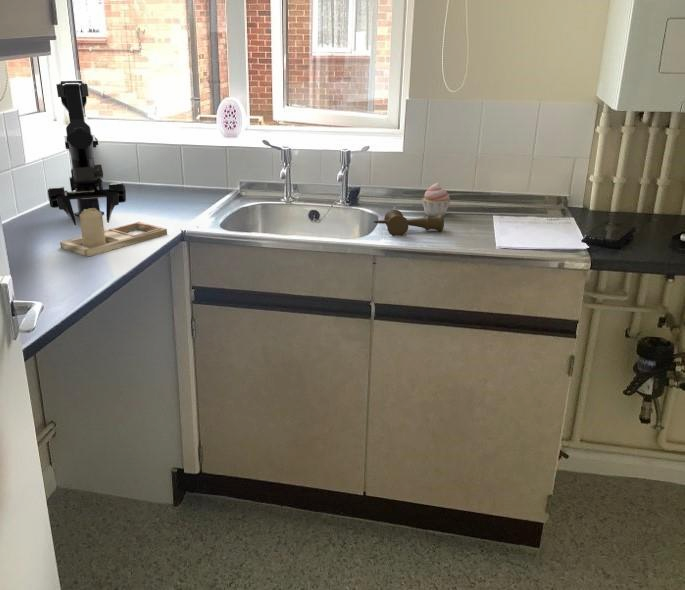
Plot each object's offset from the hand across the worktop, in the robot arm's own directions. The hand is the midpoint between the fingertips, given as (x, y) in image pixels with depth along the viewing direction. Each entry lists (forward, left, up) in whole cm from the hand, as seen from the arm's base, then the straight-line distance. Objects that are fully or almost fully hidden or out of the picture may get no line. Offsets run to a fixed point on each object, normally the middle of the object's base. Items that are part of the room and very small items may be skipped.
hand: (91, 223), depth 171 cm
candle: (-1, +1, -7) cm, 7 cm away
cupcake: (+54, +84, -7) cm, 100 cm away
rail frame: (-1, +7, -7) cm, 10 cm away
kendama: (+57, +63, -7) cm, 85 cm away
